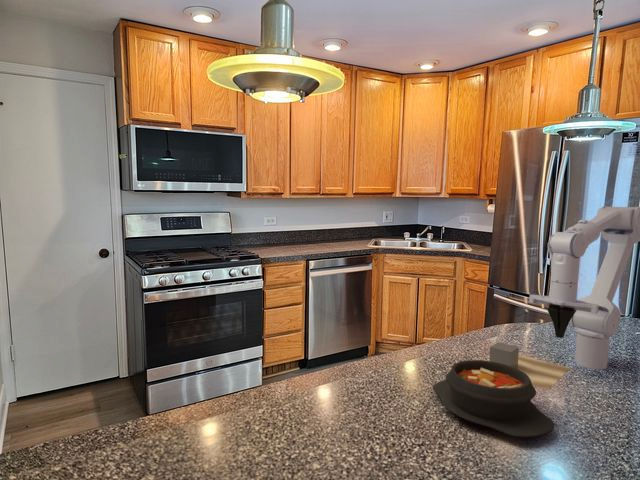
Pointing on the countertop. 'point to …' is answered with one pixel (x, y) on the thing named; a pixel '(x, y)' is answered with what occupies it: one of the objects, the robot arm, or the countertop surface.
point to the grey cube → (504, 354)
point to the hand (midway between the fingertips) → (559, 336)
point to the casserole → (493, 398)
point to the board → (541, 371)
